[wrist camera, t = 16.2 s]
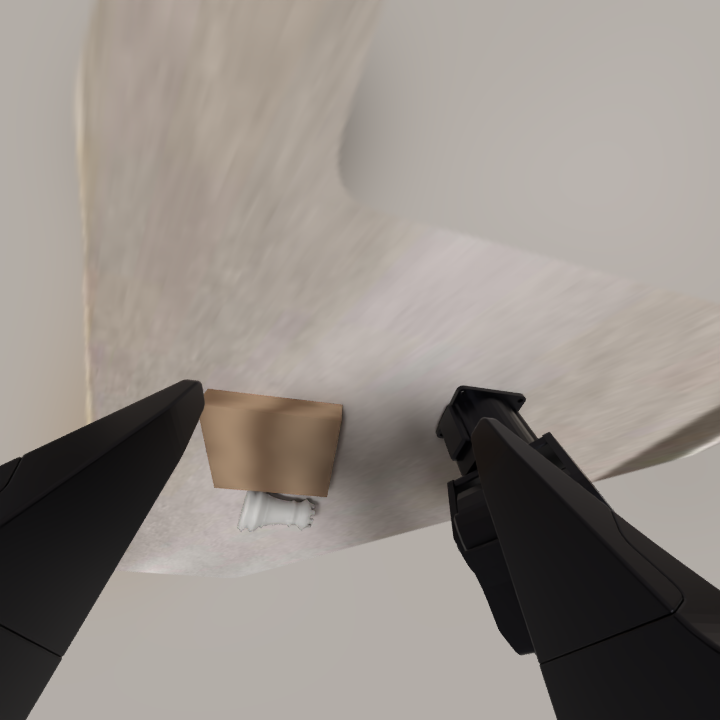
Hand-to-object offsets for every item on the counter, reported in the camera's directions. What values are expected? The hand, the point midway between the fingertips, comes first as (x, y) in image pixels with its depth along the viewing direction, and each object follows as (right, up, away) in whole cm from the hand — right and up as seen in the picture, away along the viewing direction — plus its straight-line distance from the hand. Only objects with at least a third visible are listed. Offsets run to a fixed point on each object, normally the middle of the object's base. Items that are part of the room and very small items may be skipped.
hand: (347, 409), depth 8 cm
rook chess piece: (-13, -15, +21) cm, 29 cm away
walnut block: (-8, -6, +19) cm, 22 cm away
